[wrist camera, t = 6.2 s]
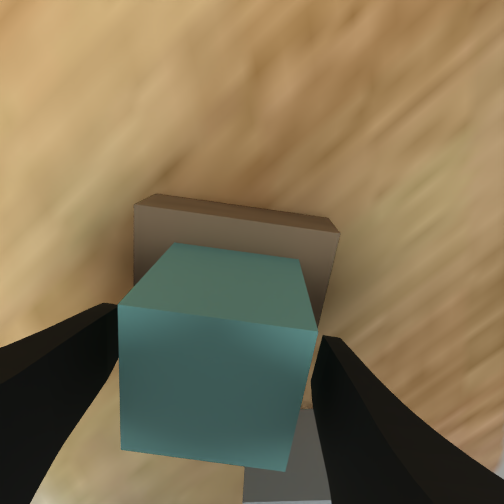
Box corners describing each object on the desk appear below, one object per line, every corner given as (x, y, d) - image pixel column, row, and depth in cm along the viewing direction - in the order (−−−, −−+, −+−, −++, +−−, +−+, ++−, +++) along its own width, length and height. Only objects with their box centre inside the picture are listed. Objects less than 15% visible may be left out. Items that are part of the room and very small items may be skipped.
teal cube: (279, 361, 14) (285, 471, 9) (169, 346, 14) (120, 449, 9) (298, 259, 12) (318, 331, 8) (174, 242, 12) (117, 304, 8)
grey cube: (335, 466, 20) (357, 568, 15) (257, 469, 20) (255, 569, 16) (333, 406, 18) (356, 499, 13) (248, 410, 19) (242, 502, 14)
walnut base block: (295, 353, 17) (301, 395, 15) (154, 333, 17) (133, 371, 15) (326, 215, 15) (340, 233, 12) (159, 192, 15) (133, 204, 12)
